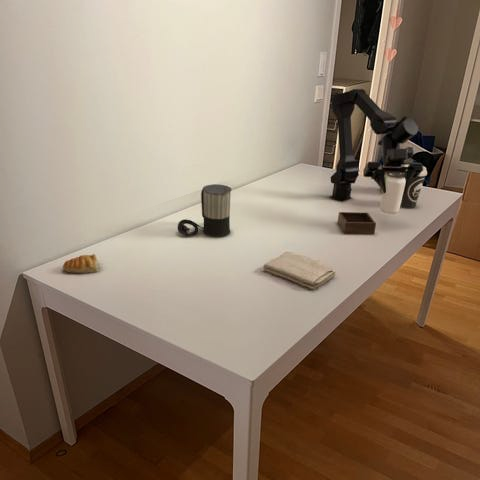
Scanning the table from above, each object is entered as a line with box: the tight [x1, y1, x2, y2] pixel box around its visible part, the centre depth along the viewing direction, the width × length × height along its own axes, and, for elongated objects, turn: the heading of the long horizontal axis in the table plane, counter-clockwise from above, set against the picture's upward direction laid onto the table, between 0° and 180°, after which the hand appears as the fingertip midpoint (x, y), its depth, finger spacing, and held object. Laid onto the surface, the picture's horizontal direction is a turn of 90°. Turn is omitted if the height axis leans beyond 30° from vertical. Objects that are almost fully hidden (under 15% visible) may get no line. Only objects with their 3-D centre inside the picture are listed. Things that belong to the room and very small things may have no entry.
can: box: [379, 173, 406, 215], centre depth 160 cm, size 6×6×12 cm
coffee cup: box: [400, 165, 428, 209], centre depth 184 cm, size 10×10×15 cm
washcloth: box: [262, 251, 336, 291], centre depth 133 cm, size 12×18×3 cm, turn 51°
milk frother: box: [177, 183, 232, 238], centre depth 153 cm, size 14×16×15 cm
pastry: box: [62, 253, 99, 274], centre depth 131 cm, size 9×7×4 cm
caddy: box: [337, 211, 377, 235], centre depth 164 cm, size 10×10×4 cm
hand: (394, 193), depth 159 cm, fingers closed on can, 6 cm apart
